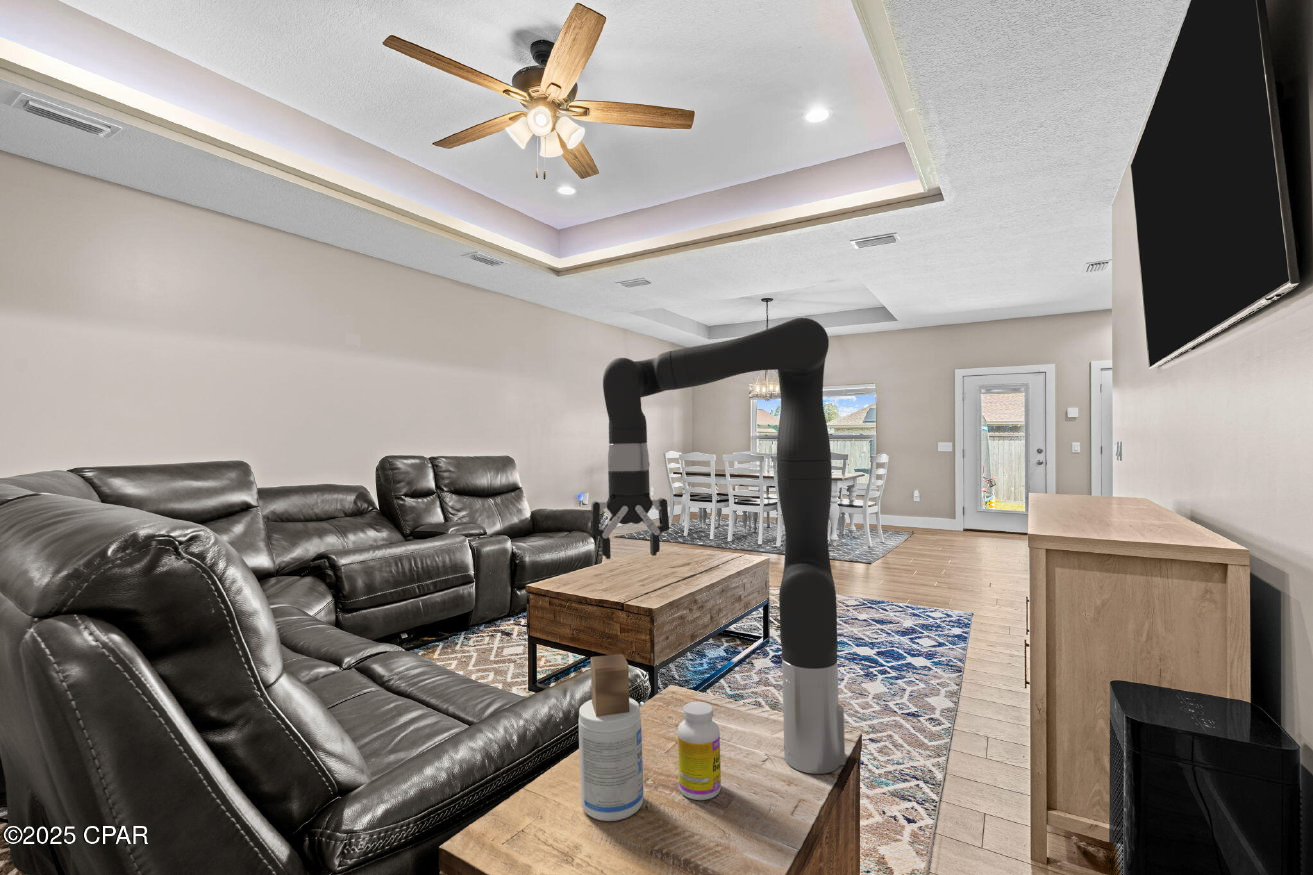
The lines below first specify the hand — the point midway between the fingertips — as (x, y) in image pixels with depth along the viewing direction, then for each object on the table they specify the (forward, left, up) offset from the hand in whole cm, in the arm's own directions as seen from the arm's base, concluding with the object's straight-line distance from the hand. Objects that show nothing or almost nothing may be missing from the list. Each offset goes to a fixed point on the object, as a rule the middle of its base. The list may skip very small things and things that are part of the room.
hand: (630, 556), depth 109 cm
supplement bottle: (-7, +17, -34) cm, 39 cm away
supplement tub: (+7, +17, -34) cm, 39 cm away
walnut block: (+7, +17, -19) cm, 27 cm away
